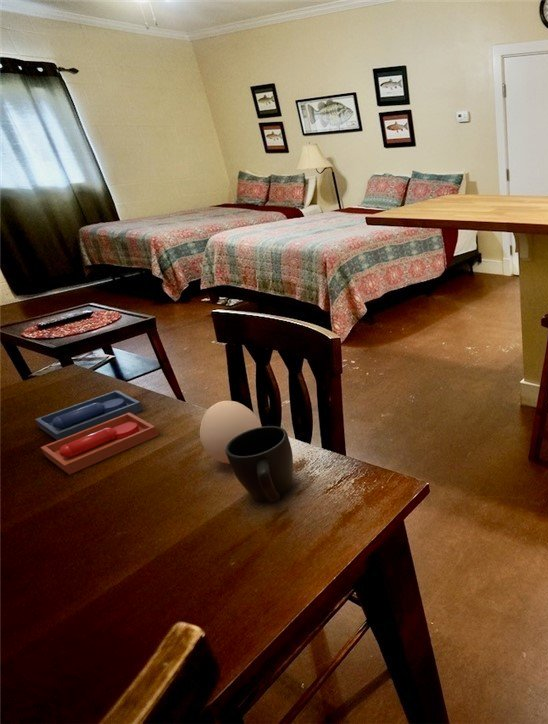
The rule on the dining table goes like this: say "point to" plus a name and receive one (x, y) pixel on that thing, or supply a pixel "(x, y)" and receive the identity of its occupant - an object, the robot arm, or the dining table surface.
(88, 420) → the blue tray
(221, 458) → the egg
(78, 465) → the terracotta tray
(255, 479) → the mug
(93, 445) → the red spoon
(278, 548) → the dining table surface
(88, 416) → the blue spoon
